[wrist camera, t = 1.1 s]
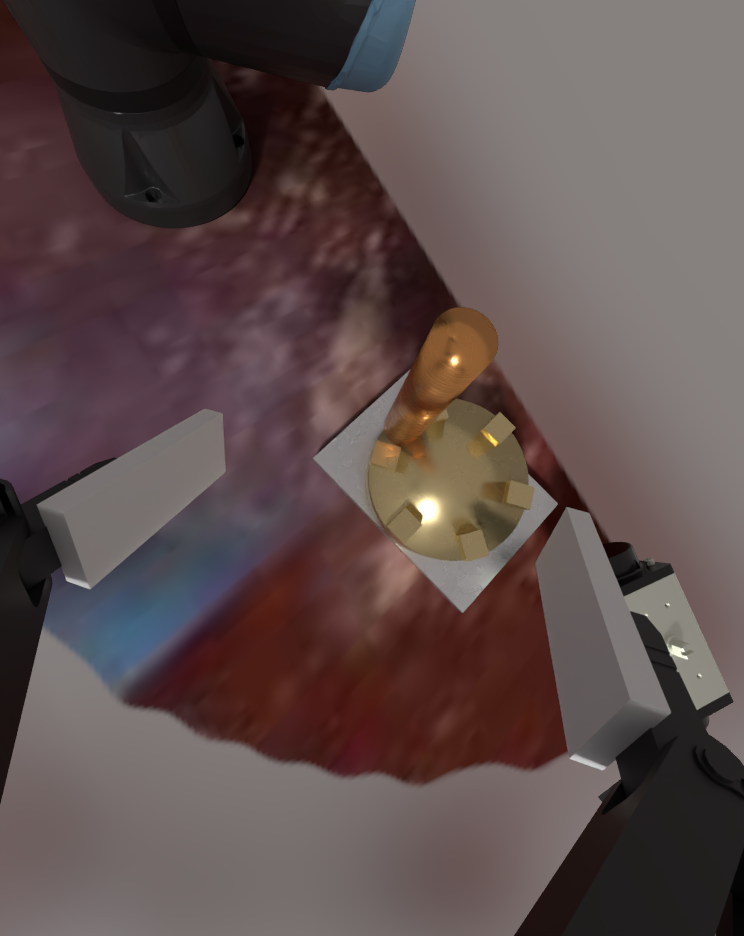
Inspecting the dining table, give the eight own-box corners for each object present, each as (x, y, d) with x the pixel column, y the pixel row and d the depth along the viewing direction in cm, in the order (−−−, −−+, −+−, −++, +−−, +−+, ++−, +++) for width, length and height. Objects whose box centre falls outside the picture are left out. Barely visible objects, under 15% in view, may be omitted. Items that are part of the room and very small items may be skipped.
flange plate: (313, 461, 33) (312, 458, 32) (413, 369, 36) (417, 362, 34) (456, 609, 33) (462, 613, 31) (548, 504, 35) (558, 503, 34)
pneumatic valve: (559, 538, 35) (677, 542, 23) (612, 663, 34) (766, 735, 22) (507, 560, 34) (602, 576, 22) (559, 690, 33) (690, 779, 21)
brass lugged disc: (329, 474, 32) (331, 412, 15) (433, 377, 34) (534, 231, 18) (442, 591, 31) (573, 660, 14) (539, 483, 34) (746, 437, 17)
